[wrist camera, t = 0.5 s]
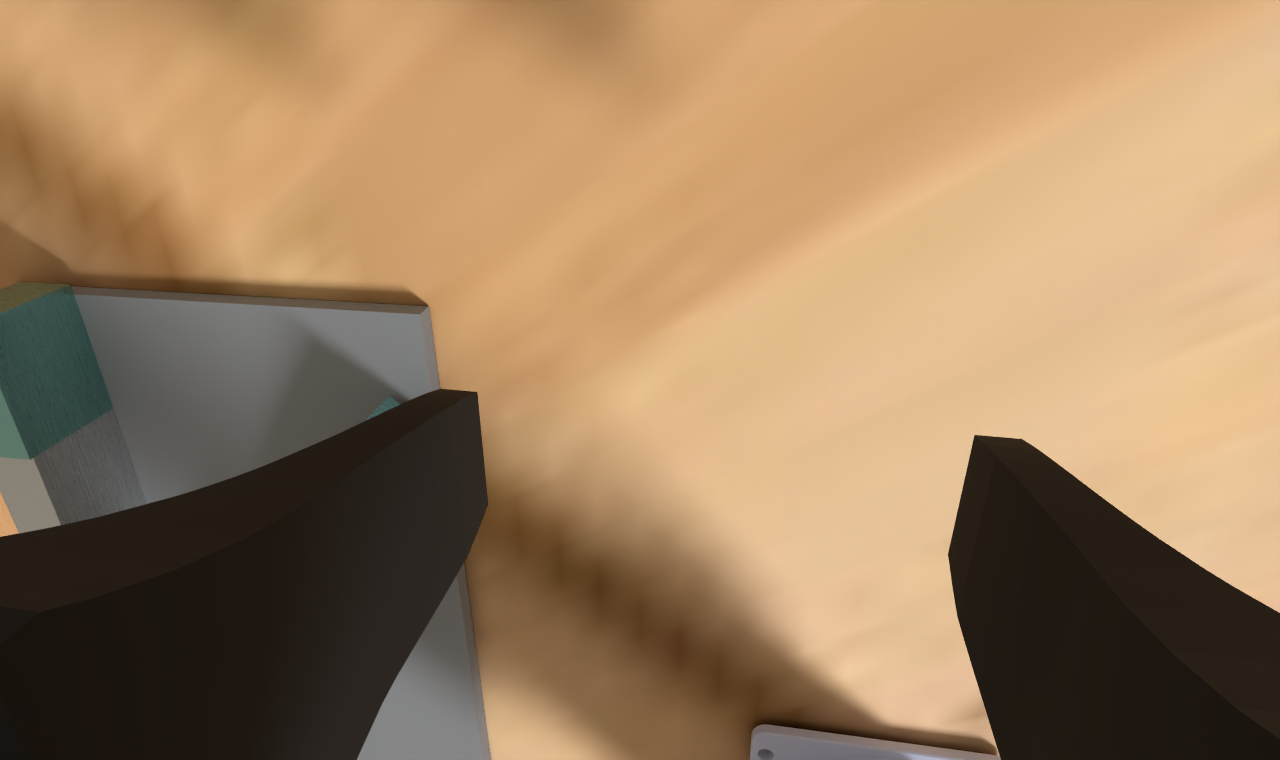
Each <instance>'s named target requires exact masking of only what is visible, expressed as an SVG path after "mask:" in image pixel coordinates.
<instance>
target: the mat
mask: <svg viewBox="0 0 1280 760" xmlns="http://www.w3.org/2000/svg"><path fill="white" fill-rule="evenodd" d="M16 284H17V283H16ZM14 285H15V284H14ZM11 286H12V285H11ZM8 287H10V286H8ZM71 287H72V290H73V293H74V296H75V299H76V301H77V304H78V307H79V310H80V313H81V316H82V319H83V322H84V324H85V327H86V330H87V333H88V336H89V339H90V342H91V344H92V347H93V350H94V353H95V356H96V359H97V362H98V365H99V367H100V370H101V373H102V376H103V379H104V382H105V385H106V387H107V390H108V393H109V396H110V399H111V402H112V405H113V407H114V410H115V413H116V416H117V419H118V422H119V425H120V428H121V430H122V433H123V436H124V439H125V442H126V445H127V448H128V450H129V453H130V456H131V459H132V462H133V465H134V468H135V470H136V473H137V476H138V479H139V482H140V485H141V488H142V491H143V493H144V496H145V499H146V502H147V504H148V503H152V502H156V501H159V500H163V499H167V498H171V497H174V496H178V495H181V494H184V493H188V492H191V491H194V490H197V489H200V488H203V487H206V486H209V485H212V484H215V483H218V482H221V481H224V480H227V479H230V478H233V477H235V476H238V475H241V474H243V473H246V472H249V471H252V470H254V469H257V468H259V467H262V466H264V465H267V464H270V463H272V462H274V461H277V460H279V459H281V458H284V457H286V456H288V455H290V454H293V453H295V452H297V451H300V450H302V449H304V448H307V447H309V446H311V445H314V444H316V443H318V442H321V441H323V440H325V439H328V438H330V437H332V436H334V435H336V434H339V433H341V432H343V431H345V430H347V429H349V428H351V427H353V426H356V425H358V424H360V423H362V422H364V421H365V420H366V419H367V418H368V417H369V416H370V415H371V414H372V413H373V412H374V411H375V410H376V409H377V408H378V407H379V406H380V405H381V404H382V403H383V402H384V401H385V400H386V399H387V398H388V397H390V398H392V399H393V400H395V401H397V402H398V403H400V404H402V403H405V402H407V401H409V400H411V399H414V398H416V397H418V396H421V395H423V394H426V393H428V392H431V391H435V390H438V389H440V383H439V376H438V369H437V361H436V354H435V347H434V339H433V332H432V325H431V318H430V310H429V306H414V305H396V304H378V303H360V302H343V301H325V300H307V299H289V298H271V297H253V296H235V295H217V294H200V293H182V292H164V291H146V290H128V289H110V288H92V287H75V286H71ZM6 288H7V287H6ZM3 289H4V288H3ZM1 290H2V289H1ZM357 760H491V755H490V748H489V741H488V733H487V726H486V719H485V711H484V704H483V697H482V690H481V682H480V675H479V668H478V660H477V653H476V646H475V638H474V631H473V624H472V617H471V609H470V602H469V595H468V587H467V580H466V573H465V566H464V563H463V565H462V567H461V569H460V570H459V572H458V574H457V575H456V577H455V579H454V581H453V582H452V584H451V586H450V588H449V589H448V591H447V593H446V594H445V596H444V598H443V600H442V601H441V603H440V605H439V606H438V608H437V610H436V611H435V613H434V615H433V616H432V618H431V620H430V621H429V623H428V625H427V627H426V628H425V630H424V632H423V633H422V635H421V637H420V638H419V640H418V642H417V643H416V645H415V647H414V648H413V650H412V652H411V653H410V655H409V657H408V659H407V660H406V662H405V664H404V665H403V667H402V669H401V670H400V672H399V674H398V675H397V677H396V679H395V681H394V683H393V685H392V687H391V688H390V690H389V692H388V694H387V696H386V698H385V700H384V702H383V703H382V706H381V708H380V710H379V712H378V714H377V716H376V719H375V721H374V723H373V725H372V727H371V730H370V732H369V734H368V736H367V738H366V741H365V743H364V745H363V747H362V749H361V752H360V754H359V756H358V758H357Z"/></svg>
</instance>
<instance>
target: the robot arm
mask: <svg viewBox="0 0 1280 760" xmlns="http://www.w3.org/2000/svg"><path fill="white" fill-rule="evenodd" d="M487 506H488V498H487V488H486V478H485V467H484V457H483V447H482V436H481V426H480V416H479V405H478V395H477V392H470V391H458V390H447V389H438V390H435V391H431V392H428V393H426V394H423V395H421V396H418V397H416V398H414V399H411V400H409V401H407V402H405V403H402V404H400V405H398V406H396V407H394V408H392V409H389V410H387V411H385V412H383V413H381V414H379V415H377V416H375V417H372V418H370V419H368V420H366V421H364V422H362V423H360V424H358V425H356V426H353V427H351V428H349V429H347V430H345V431H343V432H341V433H339V434H336V435H334V436H332V437H330V438H328V439H325V440H323V441H321V442H318V443H316V444H314V445H311V446H309V447H307V448H304V449H302V450H300V451H297V452H295V453H293V454H290V455H288V456H286V457H284V458H281V459H279V460H277V461H274V462H272V463H270V464H267V465H264V466H262V467H259V468H257V469H254V470H252V471H249V472H246V473H243V474H241V475H238V476H235V477H233V478H230V479H227V480H224V481H221V482H218V483H215V484H212V485H209V486H206V487H203V488H200V489H197V490H194V491H191V492H188V493H184V494H181V495H178V496H174V497H171V498H167V499H163V500H159V501H156V502H152V503H148V504H145V505H141V506H137V507H134V508H130V509H126V510H123V511H119V512H115V513H111V514H108V515H104V516H100V517H96V518H91V519H87V520H82V521H78V522H73V523H69V524H64V525H59V526H55V527H50V528H45V529H40V530H35V531H29V532H24V533H19V534H14V535H9V536H3V537H0V760H357V758H358V756H359V754H360V752H361V749H362V747H363V745H364V743H365V741H366V738H367V736H368V734H369V732H370V730H371V727H372V725H373V723H374V721H375V719H376V716H377V714H378V712H379V710H380V708H381V706H382V703H383V702H384V700H385V698H386V696H387V694H388V692H389V690H390V688H391V687H392V685H393V683H394V681H395V679H396V677H397V675H398V674H399V672H400V670H401V669H402V667H403V665H404V664H405V662H406V660H407V659H408V657H409V655H410V653H411V652H412V650H413V648H414V647H415V645H416V643H417V642H418V640H419V638H420V637H421V635H422V633H423V632H424V630H425V628H426V627H427V625H428V623H429V621H430V620H431V618H432V616H433V615H434V613H435V611H436V610H437V608H438V606H439V605H440V603H441V601H442V600H443V598H444V596H445V594H446V593H447V591H448V589H449V588H450V586H451V584H452V582H453V581H454V579H455V577H456V575H457V574H458V572H459V570H460V569H461V567H462V565H463V563H464V561H465V560H466V558H467V555H468V553H469V551H470V548H471V546H472V544H473V541H474V539H475V537H476V534H477V532H478V529H479V527H480V524H481V521H482V519H483V516H484V514H485V511H486V508H487ZM948 557H949V564H950V571H951V578H952V586H953V592H954V598H955V604H956V610H957V616H958V620H959V623H960V627H961V630H962V634H963V637H964V641H965V644H966V647H967V651H968V654H969V657H970V661H971V664H972V667H973V670H974V674H975V677H976V680H977V683H978V687H979V690H980V693H981V696H982V700H983V703H984V706H985V709H986V712H987V716H988V719H989V722H990V725H991V729H992V732H993V735H994V738H995V742H996V745H997V748H998V751H999V755H1000V757H999V756H995V755H991V754H983V753H976V752H969V751H961V750H954V749H946V748H939V747H931V746H924V745H917V744H909V743H902V742H894V741H887V740H879V739H872V738H865V737H857V736H850V735H842V734H835V733H827V732H820V731H812V730H805V729H798V728H790V727H783V726H775V725H768V724H764V725H759V726H757V727H755V728H754V729H753V731H752V735H751V748H750V760H1280V613H1279V612H1277V611H1275V610H1273V609H1272V608H1270V607H1268V606H1266V605H1265V604H1263V603H1261V602H1259V601H1258V600H1256V599H1254V598H1252V597H1251V596H1249V595H1247V594H1245V593H1244V592H1242V591H1240V590H1238V589H1236V588H1235V587H1233V586H1231V585H1230V584H1228V583H1226V582H1225V581H1223V580H1222V579H1220V578H1218V577H1217V576H1215V575H1213V574H1212V573H1210V572H1209V571H1207V570H1205V569H1204V568H1202V567H1201V566H1199V565H1198V564H1196V563H1195V562H1193V561H1192V560H1190V559H1189V558H1187V557H1186V556H1184V555H1183V554H1181V553H1180V552H1178V551H1177V550H1175V549H1174V548H1172V547H1171V546H1169V545H1168V544H1166V543H1165V542H1163V541H1162V540H1160V539H1159V538H1157V537H1156V536H1154V535H1153V534H1151V533H1150V532H1149V531H1147V530H1146V529H1144V528H1143V527H1142V526H1140V525H1139V524H1137V523H1136V522H1134V521H1133V520H1132V519H1130V518H1129V517H1128V516H1126V515H1125V514H1123V513H1122V512H1121V511H1119V510H1118V509H1117V508H1115V507H1114V506H1113V505H1111V504H1110V503H1109V502H1107V501H1106V500H1104V499H1103V498H1102V497H1101V496H1099V495H1098V494H1097V493H1095V492H1094V491H1093V490H1091V489H1090V488H1089V487H1087V486H1086V485H1085V484H1083V483H1082V482H1081V481H1079V480H1078V479H1077V478H1075V477H1074V476H1073V475H1072V474H1070V473H1069V472H1068V471H1066V470H1065V469H1064V468H1062V467H1061V466H1060V465H1058V464H1057V463H1056V462H1054V461H1053V460H1052V459H1050V458H1049V457H1048V456H1046V455H1045V454H1044V453H1042V452H1041V451H1039V450H1038V449H1036V448H1035V447H1033V446H1032V445H1030V444H1029V443H1027V442H1026V441H1024V440H1022V439H1014V438H1003V437H991V436H979V435H975V436H974V440H973V445H972V449H971V454H970V458H969V463H968V467H967V472H966V476H965V481H964V485H963V490H962V494H961V499H960V503H959V508H958V512H957V517H956V521H955V526H954V530H953V535H952V539H951V544H950V548H949V553H948ZM764 749H768V750H764Z"/></svg>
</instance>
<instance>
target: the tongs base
mask: <svg viewBox="0 0 1280 760" xmlns="http://www.w3.org/2000/svg"><path fill="white" fill-rule="evenodd" d="M0 492H1V494H2V496H3V498H4V501H5V503H6V505H7V507H8V510H9V512H10V514H11V516H12V519H13V521H14V523H15V525H16V528H17V530H18V532H19V533H24V532H29V531H35V530H40V529H45V528H50V527H55V526H59V525H64V524H69V523H73V522H78V521H82V520H87V519H91V518H96V517H100V516H104V515H108V514H111V513H115V512H119V511H123V510H126V509H130V508H134V507H137V506H141V505H145V504H147V502H146V499H145V496H144V493H143V491H142V488H141V485H140V482H139V479H138V476H137V473H136V470H135V468H134V465H133V462H132V459H131V456H130V453H129V450H128V448H127V445H126V442H125V439H124V436H123V433H122V430H121V428H120V425H119V422H118V419H117V416H116V413H115V410H114V407H113V405H112V402H111V399H110V396H109V393H108V390H107V387H106V385H105V382H104V379H103V376H102V373H101V370H100V367H99V365H98V362H97V359H96V356H95V353H94V350H93V347H92V344H91V342H90V339H89V336H88V333H87V330H86V327H85V324H84V322H83V319H82V316H81V313H80V310H79V307H78V304H77V301H76V299H75V296H74V293H73V290H72V287H71V284H53V283H35V282H20V283H17V284H15V285H12V286H10V287H7V288H4V289H2V290H0Z"/></svg>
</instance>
